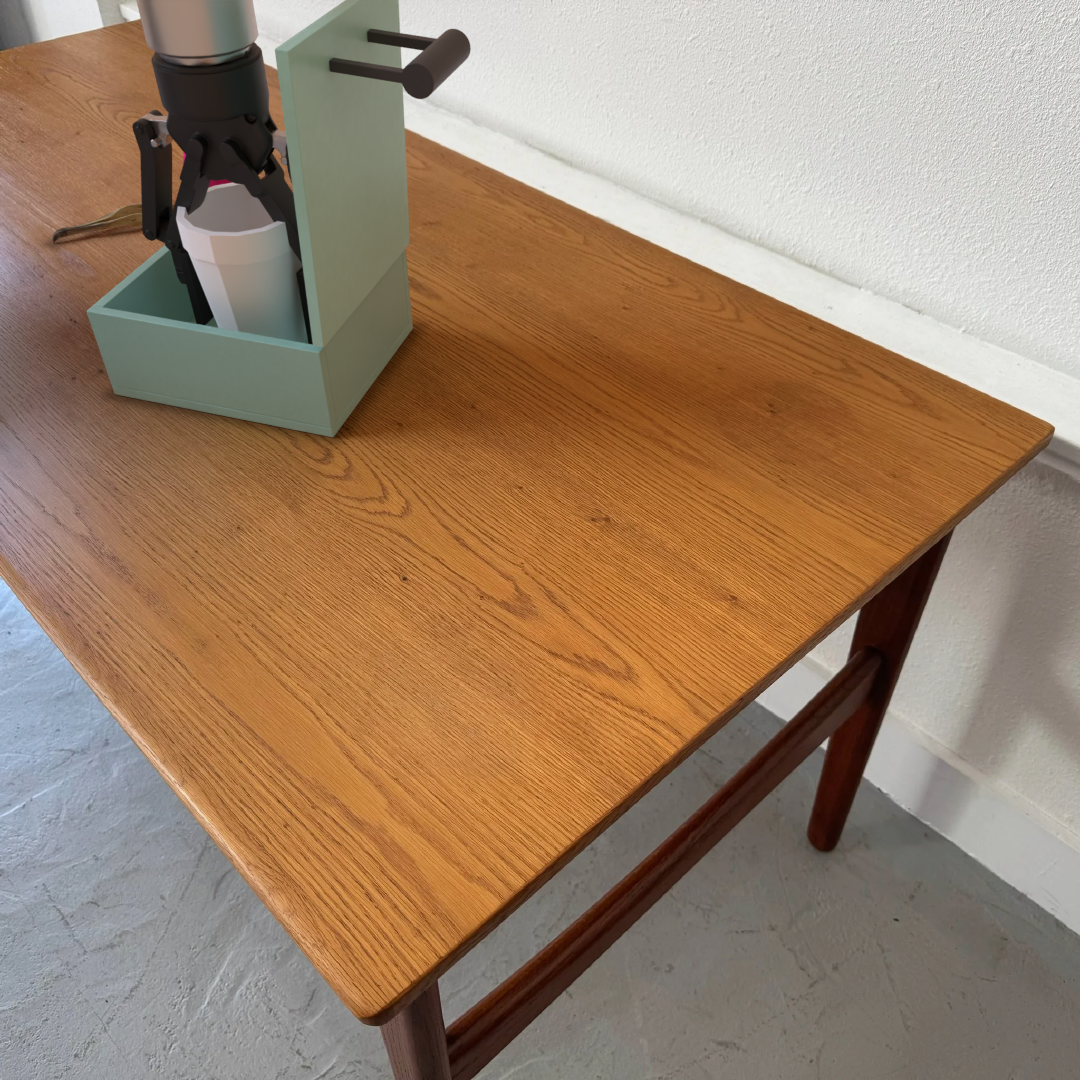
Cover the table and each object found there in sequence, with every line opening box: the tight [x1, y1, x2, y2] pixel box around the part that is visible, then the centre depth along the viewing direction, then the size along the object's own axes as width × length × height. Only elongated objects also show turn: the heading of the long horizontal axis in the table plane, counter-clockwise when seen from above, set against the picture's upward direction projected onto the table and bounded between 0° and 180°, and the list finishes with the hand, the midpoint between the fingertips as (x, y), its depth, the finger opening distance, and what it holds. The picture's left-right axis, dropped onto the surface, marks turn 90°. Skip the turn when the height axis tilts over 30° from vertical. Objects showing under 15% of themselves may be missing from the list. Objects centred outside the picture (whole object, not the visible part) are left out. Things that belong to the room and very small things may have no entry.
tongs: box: [51, 202, 175, 244], centre depth 106 cm, size 4×13×2 cm, turn 125°
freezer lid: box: [274, 0, 471, 348], centre depth 73 cm, size 21×17×8 cm
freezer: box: [86, 244, 414, 438], centre depth 86 cm, size 20×17×8 cm
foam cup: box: [176, 183, 305, 343], centre depth 84 cm, size 10×9×13 cm
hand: (263, 326), depth 87 cm, fingers open, 10 cm apart
